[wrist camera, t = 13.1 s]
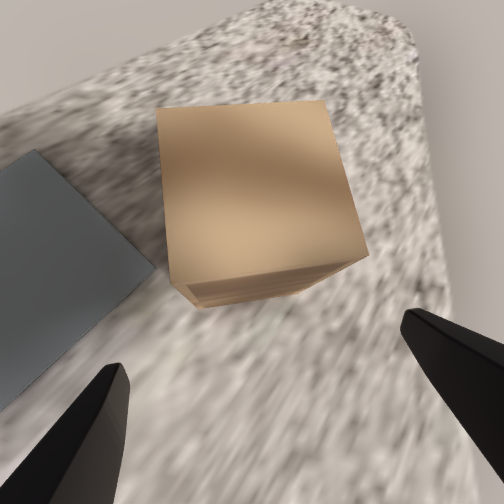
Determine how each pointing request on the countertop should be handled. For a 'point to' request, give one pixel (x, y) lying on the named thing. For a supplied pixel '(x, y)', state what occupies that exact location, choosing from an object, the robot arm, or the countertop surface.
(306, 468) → the countertop surface
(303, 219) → the cover box
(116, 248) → the slate mat
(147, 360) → the countertop surface
